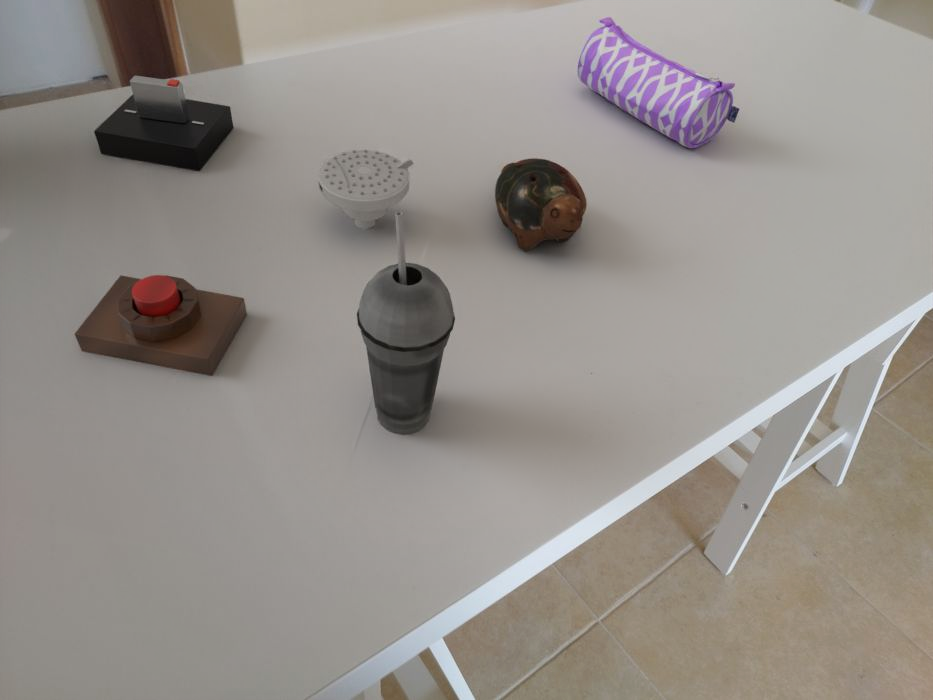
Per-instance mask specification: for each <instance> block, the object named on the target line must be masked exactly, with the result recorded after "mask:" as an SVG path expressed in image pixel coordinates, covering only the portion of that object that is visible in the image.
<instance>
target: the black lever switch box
mask: <svg viewBox="0 0 933 700" xmlns="http://www.w3.org/2000/svg"><path fill="white" fill-rule="evenodd" d="M185 100H186V105H187V110H188V114H189V119H188V120H187V121H186V123H177V122H170V121H162V120H155V119H148V118H141V117H139V115H138V111H137V108H136V104H135V100H134V96H133V94H131V95H130V96H129V97H128V98H127V99H126V100H125V101H124V102H123V103H122V104H121V105H119V106H118V108H116V110H114V111H113V112H112V113H111V114H110V115H109V116H108V117H107V118H106V119H105V120H103V122H102V123H100V125H98V127H96V128H95V130H93V132H94V135H95V139H96V143H97V146H98V148H99V152H100V155H105V156H111V157H116V158H122V159H128V160H132V161H133V160H134V161H140V162H144V163H146V162H147V163H151V164H156V165H162V166H168V167H173V168H179V169H186V170H192V171H198V172H201V170H202V169H203V168H204V166H205V165H206V164H207V162H208V161H209V160H210V159H211V157H212V156H213V155H214V154H215V153H216V151H218V149H219V148H220V146H221V145H222V144H223V143H224V142H225V140H226V139H227V137H229V135H230V134H231V132H233V130H234V128H235V127H234V122H233V117H232V115H233V114H232V109H231V106H230V105H225V104H218V103H213V102H207V101H201V100H195V99H189V98H185Z"/></svg>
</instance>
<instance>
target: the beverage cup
mask: <svg viewBox="0 0 933 700" xmlns="http://www.w3.org/2000/svg"><path fill="white" fill-rule="evenodd" d="M394 216H395V217H394V218H395V233H396V249H397V263H394V264H391V265H388V266H386V267H384V268H382V269H380V270H379V271H377V272H376V273H375V275H373V277H372V278H371V279H370V280H369V281H368V282H367V283H366V285H365V286H364V289H363V291H362V294H361V296H360V301H359V303H358V304H359V305H358V309H357V312H356V320H357V325H358V328H359V329H360V334H361V337H362V340H363V343H364V345H365V347H366V355H367V362H368V367H369V374H370V381H371V389H372V395H373V403H374V408H375V410H376V417H377V420H378V422H379V423H380V425H381V426H382V427H383V428H384V429H385V430H386V431H389V432H391V433H393V434H399V435H410V434H413V433H416V432H419V431H421V429H423V428H424V427H425V426H426V425H427V423H428V422H429V419H430V416H431V411H432V409H433V405H434V401H435V396H436V390H437V386H438V381H439V376H440V372H441V367H442V361H443V356H444V351H445V348H446V347H447V345H448V342H449V339H450V336H451V332H452V331H453V330H454V326H455V321H456V316H455V312H454V306H453V301H452V297H451V293H450V291H449V289H448V287H447V285H446V284H445V283H444V281H443V280H442V279H441V277H440V276H439V275H437V274H436V273H435V272H434V271H432V269H430V268H428V267H426V266H423V265H421V264H418V263H413V262H406V248H405V247H406V246H405V233H404V232H405V229H404V228H405V227H404V214H403V212H402V211H396V212H395V214H394Z"/></svg>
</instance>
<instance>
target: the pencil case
mask: <svg viewBox="0 0 933 700" xmlns="http://www.w3.org/2000/svg"><path fill="white" fill-rule="evenodd" d="M598 22H599V23H600V24H603V25H604V26H600V27H597V29H595V30H594V31H593V32H592V33H591V34H590V35H589V36H588V38H587V40H586V42H585V44H584V46H583V48H582V51H581V53H580V55H579V59H578V61H577V77H578V79H579V81H580V82H581V83H582V84H583V85H585V86H586V87H588V88H589V89H590V90H591V91H594V92H596V93H597V94H599V95H600V96H602V97H604V98H605V99H606V100H608V101H609V102H611V103H613V104H614V105H616V106H617V107H618V108H620V109H622V111H624V112H626V113H628V114H630V115H631V116H633V117H634V118H636V119H637V120H639V121H641V122H642V123H644V124H646V125H648V126H650V127H651V128H652V129H654V130H656V131H657V132H659V133H661V134H663V135H665V136H666V137H668V138H669V139H671V140H673V141H675V142H677V143H678V144H680V145H681V146H683V147H686V148H688V149H697V148H699V147H701V146H703V145H705V144H706V143H709V142H710V141H712V139H714V138H715V137H716V136H717V135H718V133H719V132H720V130H721V129H722V128H723V127H724V126H725V124H726V121H728V122H731V123H733V124H734V123H735V121H736V119H737V117H738V114H739V111H740V108H739V107H737V106H734V105H733V104H734V95H733V93H732V89H734V87H735V86H736V83H735V82H724V81H722V80H720V78H719V76H713V77H712V76H710V75H706V74H704V73H701V72H696V71H694V70H692V69H690V68H688V67H686V66H684V65H682V64H680V63H678V62H676V61H675V60H670V59H669V58H666V57H665V56H662V55H661V54H659V53H657V52H656V51H654V50H652V49H650V47H649V48H648V47H647V46H646V45H644V44H642V43H640V42H638V41H637V40H635V39H634V38H633V37H631V36H630V35H629V34H628V33H627V32H626V31H624V30H623V28H622V27H621V26H620V25H617V24H616V22H615V21H614V20H613V18H612V17H611V16H607V17H604V18H601V19H599V20H598Z"/></svg>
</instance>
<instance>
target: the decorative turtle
mask: <svg viewBox="0 0 933 700" xmlns="http://www.w3.org/2000/svg"><path fill="white" fill-rule="evenodd" d="M494 201H495V205H496V209H497V213H498V216H499V219H500V221H501V223H502V225H504V226H505V227H506V228H509V229H510V231H511V232H512V234H513V237H514V239H515V242H516V245H517V246H518V248H519V249H520V250H522V251H525V252H526V251H529V250H531V249H533V248H535V247H536V246H537V245H539V244H540V243H541V242H543V241H545V240H557V242H559V243H566V242H569V240H571V238H572V237H573V236H574V234H575V233H576V232H577V231H578V230H580V229H581V225H582V223H583V219H584V215H585V213H586V210H587V207H588V204H587V197H586V194H585V192H584V189H583V188H582V186H581V184H580V183H579V181H578V179H577V178H576V177H575V176H574V175H573V174H572V173H571V172H570V171H569V170H568V169H567V168H565V167H564V166H563V165H561V164H559V163H557V162H554V161H552V160H549V159H545V158H526V159H521V160H519V161H516V162H510V163H507V164H505V165H504V166H503V168H502V169H501V171H500V174H499V175H498V178H497V180H496V182H495V187H494Z"/></svg>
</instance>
